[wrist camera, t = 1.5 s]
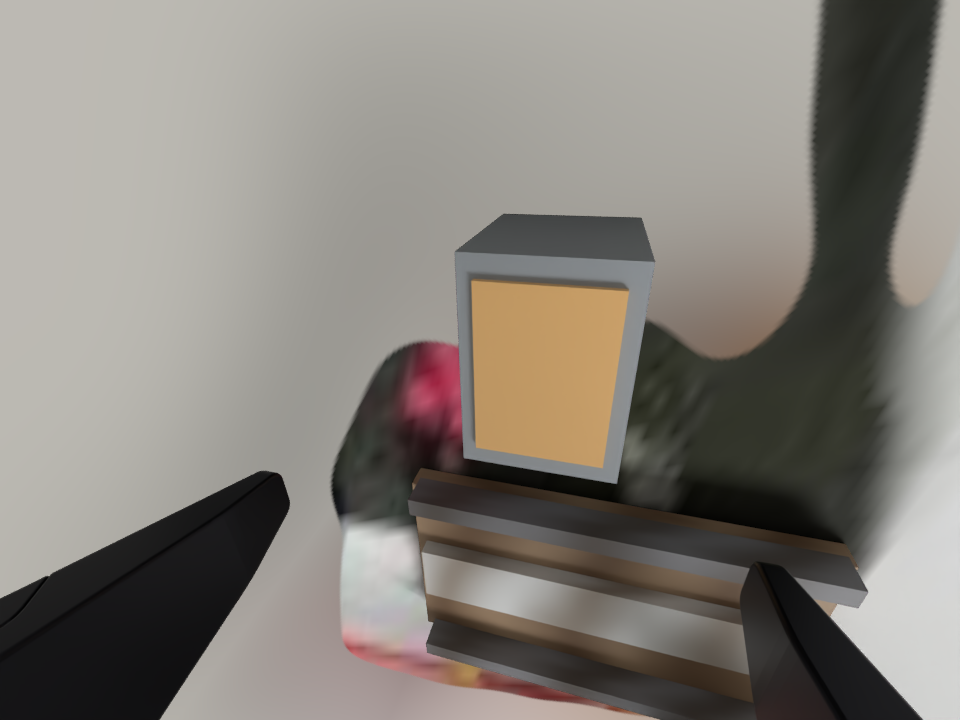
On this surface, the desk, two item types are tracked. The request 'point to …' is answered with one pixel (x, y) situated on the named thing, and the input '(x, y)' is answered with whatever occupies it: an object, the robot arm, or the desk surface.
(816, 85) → the desk surface
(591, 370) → the module
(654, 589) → the rail board
